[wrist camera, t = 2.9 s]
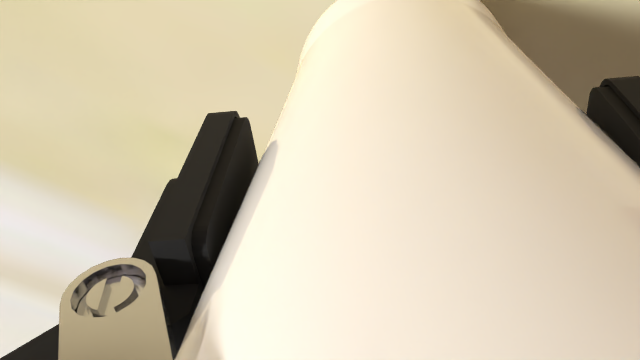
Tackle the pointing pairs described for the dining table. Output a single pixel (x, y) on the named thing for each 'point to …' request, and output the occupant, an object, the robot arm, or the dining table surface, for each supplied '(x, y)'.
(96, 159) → the dining table surface
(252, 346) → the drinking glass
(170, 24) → the dining table surface
